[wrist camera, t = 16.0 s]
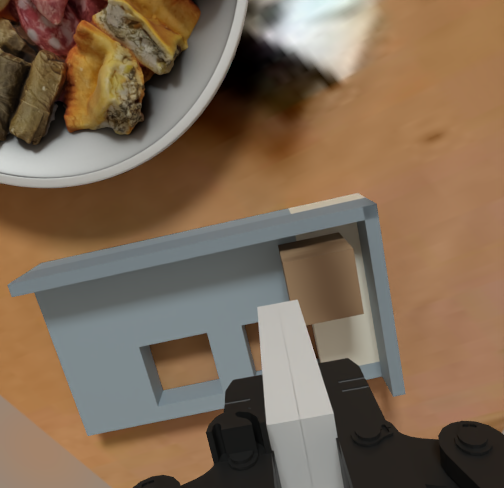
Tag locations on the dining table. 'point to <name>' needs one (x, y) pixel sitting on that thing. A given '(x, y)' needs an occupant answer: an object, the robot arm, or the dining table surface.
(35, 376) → the dining table surface
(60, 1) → the bowl
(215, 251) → the box
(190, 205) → the dining table surface
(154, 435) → the dining table surface
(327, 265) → the block
